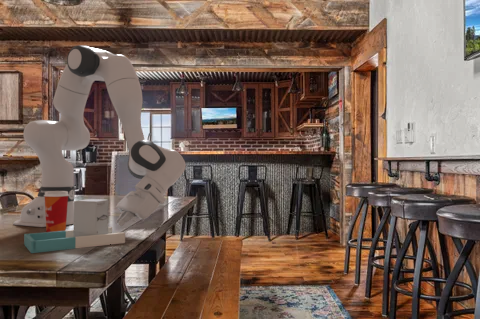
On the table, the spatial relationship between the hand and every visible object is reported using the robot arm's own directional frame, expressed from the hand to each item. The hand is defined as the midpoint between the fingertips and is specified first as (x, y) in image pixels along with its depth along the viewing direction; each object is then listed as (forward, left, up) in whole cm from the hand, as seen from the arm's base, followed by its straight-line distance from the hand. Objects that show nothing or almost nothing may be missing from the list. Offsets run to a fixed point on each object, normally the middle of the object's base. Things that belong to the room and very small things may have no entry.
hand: (118, 224), depth 126 cm
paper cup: (-24, +3, -5) cm, 24 cm away
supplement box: (-6, -6, -5) cm, 9 cm away
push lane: (-9, -9, -5) cm, 13 cm away
